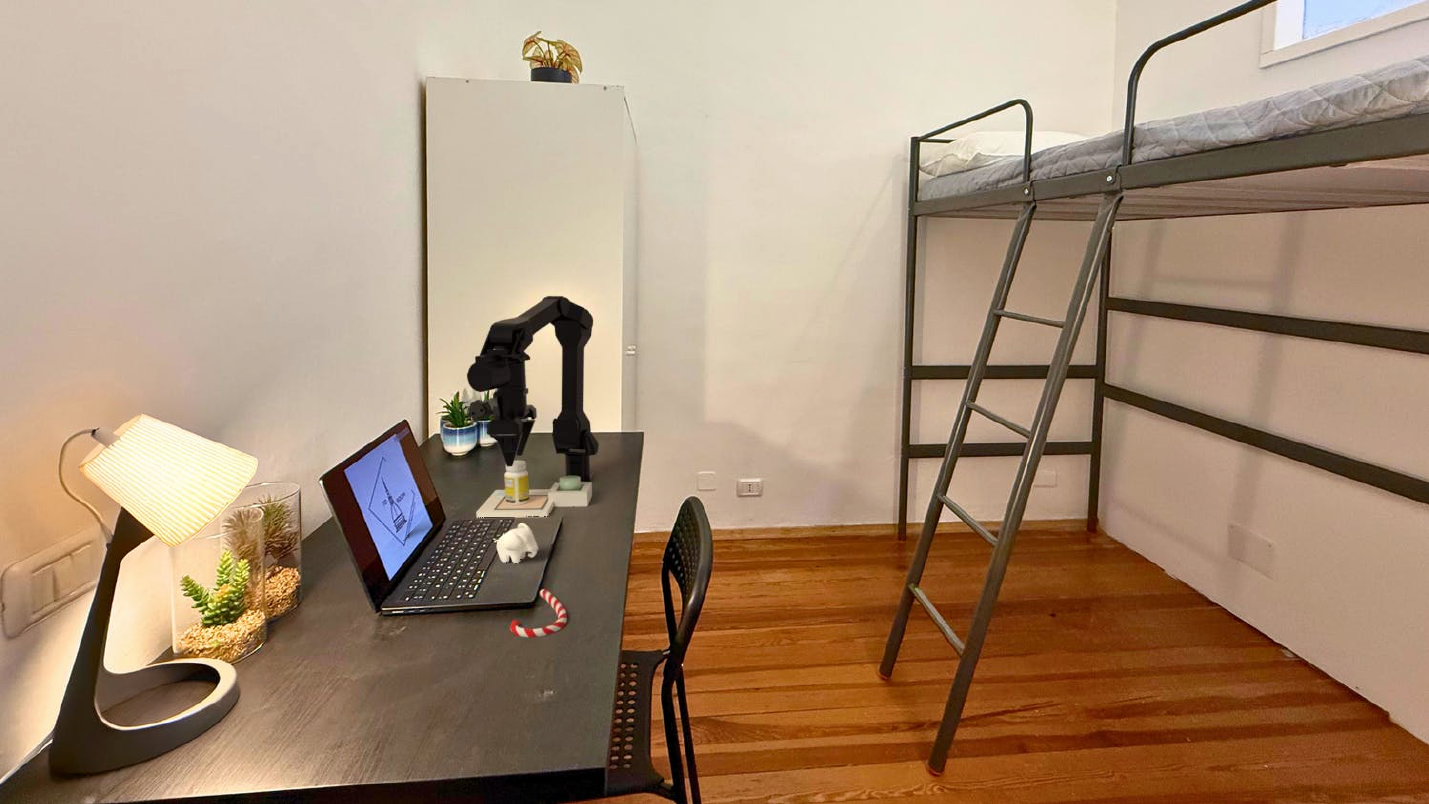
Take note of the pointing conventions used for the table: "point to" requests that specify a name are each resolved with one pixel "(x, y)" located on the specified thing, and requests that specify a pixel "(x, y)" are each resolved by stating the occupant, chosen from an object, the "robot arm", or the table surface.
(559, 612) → the candy cane
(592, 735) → the table surface
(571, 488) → the button
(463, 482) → the table surface
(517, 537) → the elephant figurine
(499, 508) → the colouring board
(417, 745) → the table surface
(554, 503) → the button box
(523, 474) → the supplement bottle
